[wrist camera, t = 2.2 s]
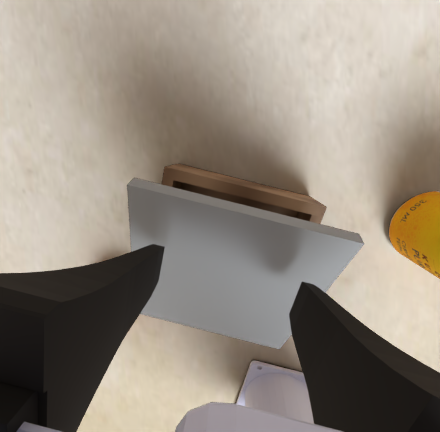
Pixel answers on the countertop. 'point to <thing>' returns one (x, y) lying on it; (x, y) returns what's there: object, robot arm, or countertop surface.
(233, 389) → the countertop surface
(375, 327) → the countertop surface
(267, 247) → the lid
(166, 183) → the box
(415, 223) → the beer can
